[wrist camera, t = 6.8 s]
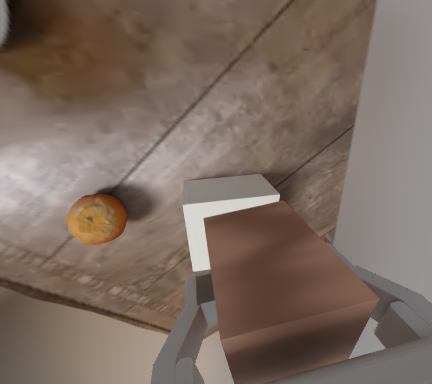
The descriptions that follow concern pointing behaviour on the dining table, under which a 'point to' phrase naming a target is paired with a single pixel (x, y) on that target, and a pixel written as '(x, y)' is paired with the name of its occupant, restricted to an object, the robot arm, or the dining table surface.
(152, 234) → the dining table surface
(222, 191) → the cream box
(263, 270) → the terracotta block
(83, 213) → the fruit
